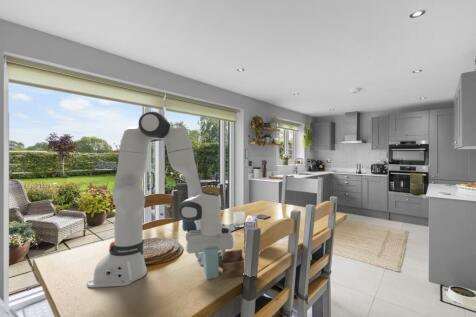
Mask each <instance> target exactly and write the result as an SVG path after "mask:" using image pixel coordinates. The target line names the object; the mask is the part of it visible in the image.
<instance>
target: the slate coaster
mask: <svg viewBox="0 0 476 317" xmlns="http://www.w3.org/2000/svg"><path fill="white" fill-rule="evenodd" d="M198 256H199V257H201V262H199V265H200V267H204V260H203V252H199V255H198Z"/></svg>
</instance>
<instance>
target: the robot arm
mask: <svg viewBox="0 0 476 317" xmlns="http://www.w3.org/2000/svg"><path fill="white" fill-rule="evenodd" d="M159 141H163V142H164V144H165V147H166V152H167V159H168V162H169V164H170V167H171V168H172V169H173V170H174V171H176V172H177V173H179V174H181V175H182V176H183V177H184V179H185V181H186V185H187V189H188V192H189V193H188V194H189V198H186V199H185V200H183V201H181V202H180V203H179V205H178V207H177V214H178V216H179V218H180V219H181V220H184V221H187V222H189V221H196V220H199V221H200V230H190V231H186V233H185V240H186V252H187V253H188V254H194V255H195V257H196V259H197V260H196V261H197V263H200V262H201V257H199V256H198V255H199V254H200V253H203V252H206V248H213V247H217V248H218V251H221V252H222V253H221V254H219V260H223V255H224V254H225V252H226V251H227V250H232V249H233V248H234V237H233V234H232V229H231V227H230V226H229V224H225V223H221V219H220V215H221V200H220V195H219V194H218V193H217V192H216V191H211V190H203V186H202V183H201V179H200V175H199V171H198V169H197V164H196V161H195V160H196V159H195V155H194V150H193V145H192V141H191V137H190V135H189V133H188V130H187V129H186V128H185V127H184V126H179V125H176V126H175V125H174V126H172V125H171V123H170V122H169V120H168V119H167V118H166V117H165V116H164V115H162V114H161V113H159V112H157V111H154V110H153V111H152V110H151V111H146V112H144V113H142V114H141V116H140V117H139V119H138V127H137V126H130V127H127V128H126V129H125V130H124V132H123V134H122V136H121V140H120V145H119V151H118V152H119V153H118V160H117V170H116V173H115V178H114V184H113V190H112V196H111V198H112V202H113V203H114V205H115V213H114V216H115V217H114V224H113V225H114V226H113V227H114V229H113V230H114V233H113V234H114V240H113V241H111V242H110V243H109V244H110V245H109V248H108V249H109V250H108V254H107V255H105V256H104V257H102V258H101V259H100V260H99V261H98V262H97V264H96V266H95V268H94V272H93V273H91V275H90V276H89V277H88V280H87V287H88V288H104V287H105V288H107V287H125V286H129V285H131V284H132V283H134V282H135V281H138V280H139V279H141V278H143V277H144V276H145V275H147V273H148V269H147V266H146V262H145V261H146V260H145V256H144V253H145V242H144V241H145V240H144V239H143V236H144V235H143V234H144V233H143V222H144V214H145V213H144V212H145V204H146V196H145V193H144V191H143V190H142V189H141V187H142V183H143V178H144V175H145V173H146V165H147V158H148V157H147V156H148V148H149V144H150V143H154V142H159Z"/></svg>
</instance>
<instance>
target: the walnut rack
mask: <svg viewBox="0 0 476 317" xmlns="http://www.w3.org/2000/svg"><path fill="white" fill-rule="evenodd" d="M221 253H222V251H218V267H220V266H222V279H223V280H224V279H231V278H232V279H233V278H238V277H244V276H243V273H244V260H245V258H244V256H243V249H233V250H232V249H231V250H226V252H225V254H224V255H223V260H219V254H221Z"/></svg>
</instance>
